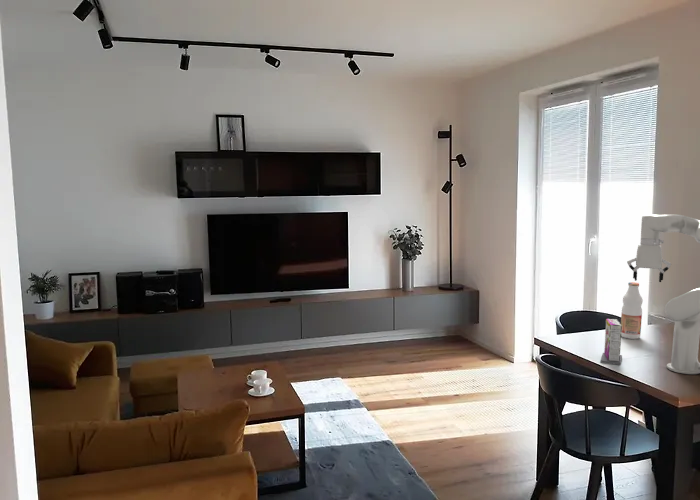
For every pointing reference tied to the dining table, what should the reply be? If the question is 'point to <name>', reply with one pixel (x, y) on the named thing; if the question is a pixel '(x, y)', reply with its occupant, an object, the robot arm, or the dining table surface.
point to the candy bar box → (612, 339)
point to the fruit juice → (631, 312)
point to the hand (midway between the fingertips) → (647, 281)
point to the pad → (605, 360)
